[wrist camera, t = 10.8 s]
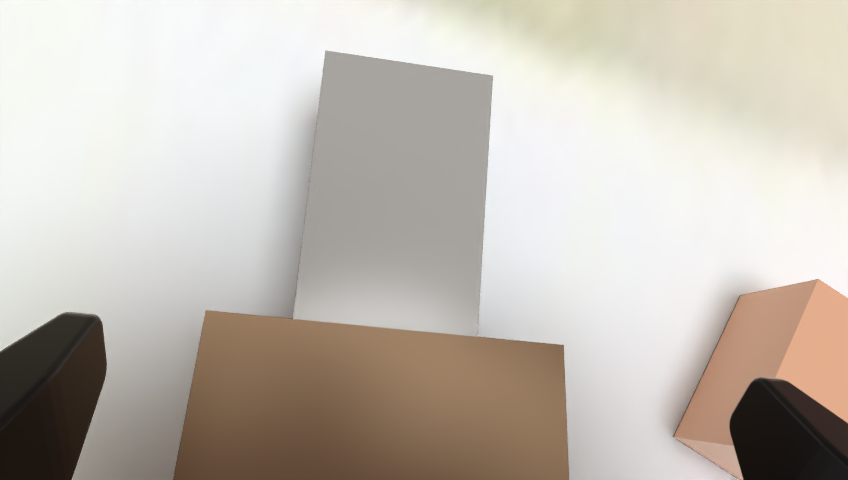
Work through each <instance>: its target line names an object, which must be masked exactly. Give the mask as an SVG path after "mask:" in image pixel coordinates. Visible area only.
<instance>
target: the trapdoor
mask: <svg viewBox="0 0 848 480" xmlns="http://www.w3.org/2000/svg"><path fill="white" fill-rule="evenodd" d="M173 480H569V469H568V444H567V419H566V394H565V369H564V345H557V344H546V343H536V342H526V341H515V340H505V339H495V338H485V337H474V336H464V335H454V334H443V333H433V332H423V331H413V330H402V329H392V328H382V327H371V326H361V325H351V324H341V323H330V322H320V321H310V320H299V319H289V318H279V317H269V316H258V315H248V314H238V313H227V312H217V311H207V310H206V313H205V318H204V323H203V328H202V333H201V338H200V344H199V349H198V354H197V359H196V364H195V369H194V375H193V380H192V385H191V390H190V395H189V400H188V406H187V411H186V416H185V421H184V426H183V431H182V437H181V442H180V447H179V452H178V457H177V463H176V468H175V473H174V478H173Z"/></svg>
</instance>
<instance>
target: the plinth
mask: <svg viewBox="0 0 848 480" xmlns="http://www.w3.org/2000/svg"><path fill="white" fill-rule="evenodd" d="M758 377H767V378H777V379H783V380H786V381H788V382H790V383H791V384H793V385H794V386H796V387H797V388H798V389H800V390H801V391H803V392H804V393H806V394H807V395H808V396H810V397H811V398H813V399H814V400H816V401H817V402H818V403H820V404H821V405H823V406H824V407H826V408H827V409H828V410H830V411H831V412H833V413H834V414H836V415H837V416H839V417H840V418H841V419H843V420H844V421H846V422H847V423H848V298H847V297H845V296H843V295H842V294H840V293H839V292H837V291H836V290H834V289H833V288H831V287H830V286H828V285H827V284H825V283H824V282H822V281H821V280H819V279H816V280H812V281H807V282H802V283H797V284H792V285H788V286H783V287H778V288H773V289H768V290H764V291H759V292H754V293H749V294H744V295H740V298H739V300H738V302H737V304H736V306H735V308H734V310H733V312H732V314H731V317H730V319H729V321H728V323H727V325H726V327H725V329H724V331H723V334H722V336H721V338H720V340H719V342H718V344H717V346H716V348H715V350H714V353H713V355H712V357H711V359H710V361H709V363H708V365H707V367H706V370H705V372H704V374H703V376H702V378H701V380H700V382H699V384H698V386H697V389H696V391H695V393H694V395H693V397H692V399H691V401H690V403H689V406H688V408H687V410H686V412H685V414H684V416H683V418H682V420H681V423H680V425H679V427H678V429H677V431H676V433H675V435H674V438H676V439H677V440H679V441H680V442H682V443H683V444H685V445H687V446H688V447H690V448H691V449H693V450H694V451H696V452H697V453H699V454H700V455H702V456H704V457H705V458H707V459H708V460H710V461H711V462H713V463H714V464H716V465H718V466H719V467H721V468H722V469H724V470H725V471H727V472H728V473H730V474H731V475H733V476H735V477H736V478H738V479H739V480H743V477H742V473H741V470H740V466H739V463H738V459H737V456H736V452H735V449H734V445H733V442H732V438H731V435H730V428H729V423H730V417H731V415H732V413H733V411H734V409H735V408H736V406H737V404H738V402H739V401H740V399H741V397H742V396H743V394H744V392H745V391H746V389H747V387H748V386H749V384H750V383H751V381H753V380H754V379H756V378H758Z"/></svg>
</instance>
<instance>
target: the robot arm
mask: <svg viewBox="0 0 848 480" xmlns="http://www.w3.org/2000/svg"><path fill="white" fill-rule="evenodd" d="M106 367H107V362H106V352H105V343H104V334H103V325H102V322H101V319H100V318H99V317H98V316H97V315H94V314H85V313H75V312H65V313H62V314H60V315H58V316H57V317H55V318H53V319H52V320H50V321H49V322H47V323H45V324H44V325H42V326H40V327H39V328H37V329H36V330H34V331H32V332H31V333H29V334H28V335H26V336H24V337H23V338H21V339H19V340H18V341H16V342H15V343H13V344H11V345H10V346H8V347H6V348H5V349H3V350H2V351H0V480H72V477H73V474H74V471H75V468H76V465H77V462H78V459H79V456H80V453H81V450H82V447H83V444H84V441H85V438H86V435H87V432H88V429H89V426H90V423H91V420H92V417H93V414H94V411H95V408H96V405H97V401H98V398H99V395H100V392H101V389H102V386H103V383H104V380H105V375H106ZM729 428H730V435H731V438H732V442H733V445H734V449H735V452H736V456H737V459H738V463H739V466H740V470H741V473H742V477H743V480H848V423H847V422H846V421H844V420H843V419H841V418H840V417H839V416H837V415H836V414H834V413H833V412H831V411H830V410H828V409H827V408H826V407H824V406H823V405H821V404H820V403H818V402H817V401H816V400H814V399H813V398H811V397H810V396H808V395H807V394H806V393H804V392H803V391H801V390H800V389H798V388H797V387H796V386H794V385H793V384H791V383H790V382H788V381H786V380H783V379H777V378H767V377H758V378H756V379H754V380H753V381H751V383H750V384H749V386H748V387H747V389H746V391H745V392H744V394H743V396H742V397H741V399H740V401H739V402H738V404H737V406H736V408H735V409H734V411H733V413H732V415H731V417H730V423H729Z"/></svg>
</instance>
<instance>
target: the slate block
mask: <svg viewBox="0 0 848 480" xmlns="http://www.w3.org/2000/svg"><path fill="white" fill-rule="evenodd" d="M492 82H493V76H491V75H485V74H478V73H471V72H465V71H458V70H451V69H445V68H438V67H431V66H425V65H418V64H411V63H405V62H398V61H391V60H385V59H378V58H371V57H365V56H358V55H352V54H345V53H338V52H332V51H325V59H324V67H323V75H322V83H321V91H320V100H319V108H318V116H317V124H316V132H315V141H314V149H313V157H312V165H311V173H310V182H309V190H308V198H307V206H306V214H305V222H304V231H303V239H302V247H301V255H300V263H299V272H298V280H297V288H296V296H295V304H294V313H293V319H299V320H310V321H320V322H330V323H341V324H351V325H361V326H371V327H382V328H392V329H402V330H413V331H423V332H433V333H443V334H454V335H464V336H474V337H477V334H478V317H479V300H480V283H481V267H482V250H483V233H484V216H485V200H486V183H487V166H488V149H489V133H490V116H491V99H492Z"/></svg>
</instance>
